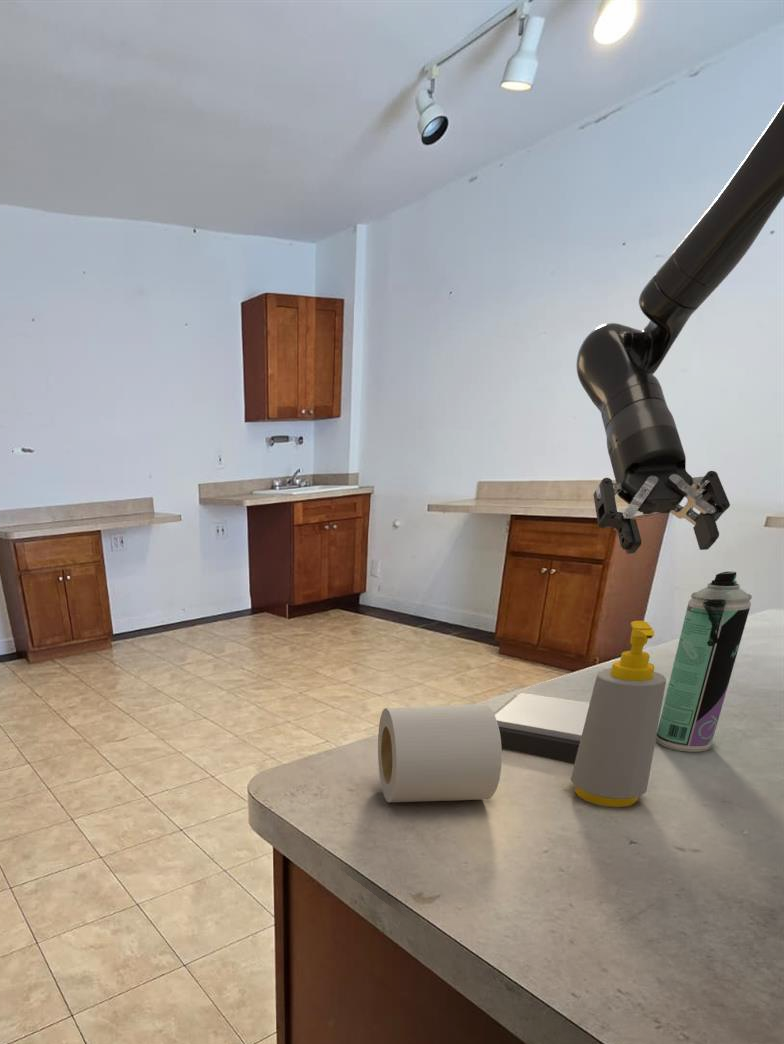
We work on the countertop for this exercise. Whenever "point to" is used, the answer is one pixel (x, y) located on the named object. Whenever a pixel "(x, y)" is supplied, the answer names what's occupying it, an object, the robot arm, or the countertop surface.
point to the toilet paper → (439, 753)
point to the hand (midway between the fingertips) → (671, 547)
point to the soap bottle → (620, 728)
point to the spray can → (703, 664)
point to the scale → (542, 726)
